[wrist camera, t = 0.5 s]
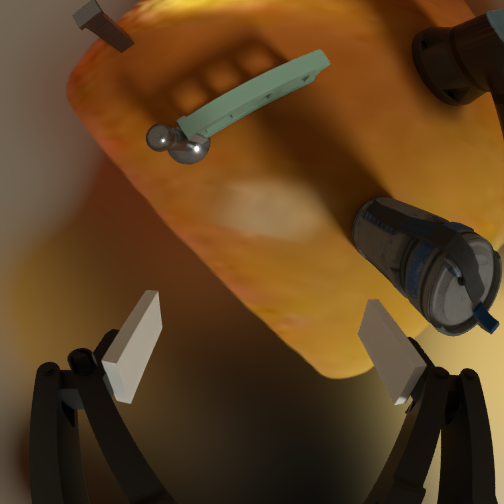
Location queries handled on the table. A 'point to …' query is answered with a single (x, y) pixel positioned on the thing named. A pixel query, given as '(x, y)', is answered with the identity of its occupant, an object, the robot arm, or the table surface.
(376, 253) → the beverage bottle
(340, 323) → the table surface
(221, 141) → the table surface
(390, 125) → the table surface
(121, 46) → the post
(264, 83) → the gate
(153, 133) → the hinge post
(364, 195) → the table surface
